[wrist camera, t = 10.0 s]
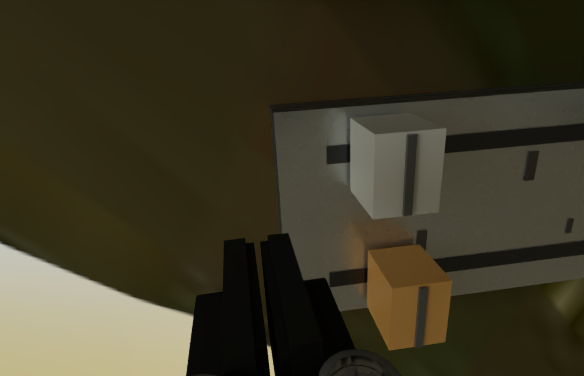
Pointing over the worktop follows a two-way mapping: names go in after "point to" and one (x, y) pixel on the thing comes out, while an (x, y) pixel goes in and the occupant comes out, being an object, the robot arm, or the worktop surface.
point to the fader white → (396, 164)
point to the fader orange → (408, 296)
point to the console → (443, 189)
